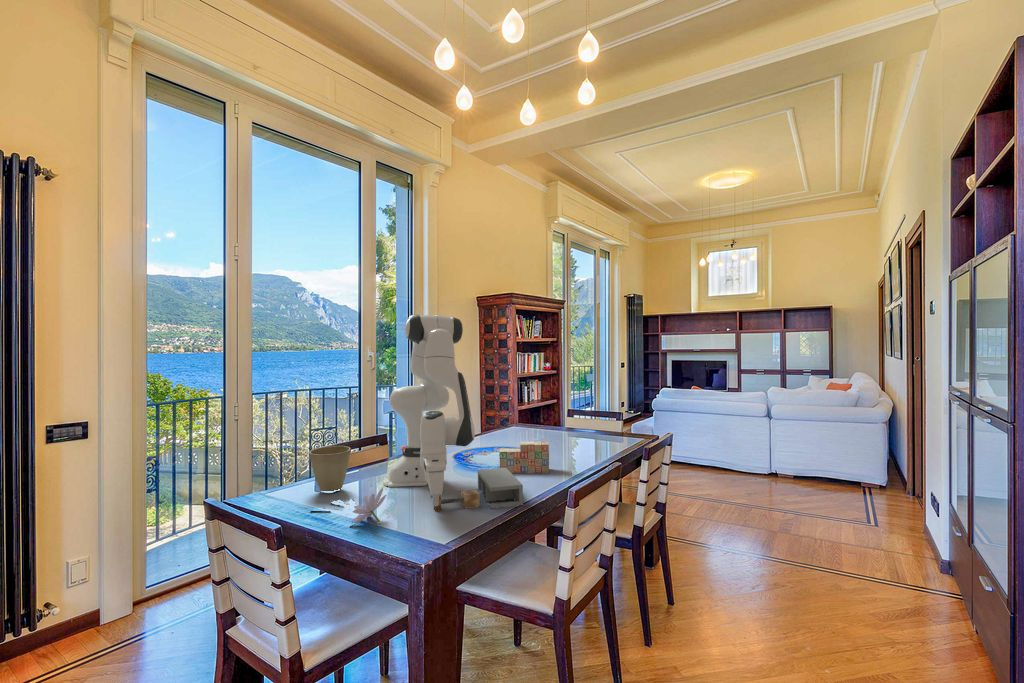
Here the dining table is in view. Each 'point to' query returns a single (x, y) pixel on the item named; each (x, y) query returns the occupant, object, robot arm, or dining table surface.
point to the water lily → (368, 507)
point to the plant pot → (330, 466)
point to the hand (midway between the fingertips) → (434, 501)
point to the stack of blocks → (526, 458)
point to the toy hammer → (461, 499)
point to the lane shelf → (500, 487)
